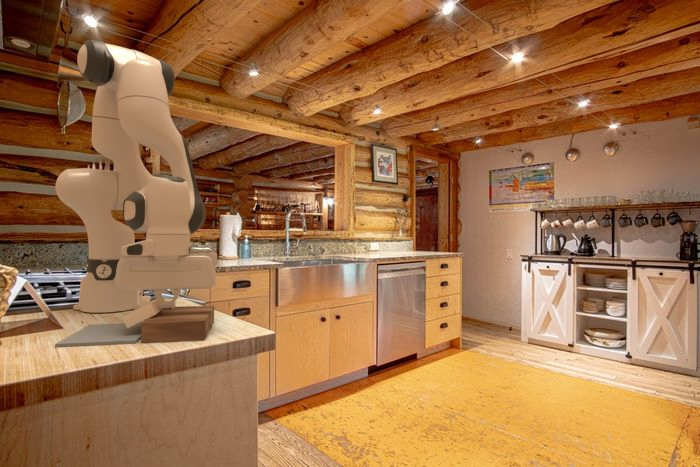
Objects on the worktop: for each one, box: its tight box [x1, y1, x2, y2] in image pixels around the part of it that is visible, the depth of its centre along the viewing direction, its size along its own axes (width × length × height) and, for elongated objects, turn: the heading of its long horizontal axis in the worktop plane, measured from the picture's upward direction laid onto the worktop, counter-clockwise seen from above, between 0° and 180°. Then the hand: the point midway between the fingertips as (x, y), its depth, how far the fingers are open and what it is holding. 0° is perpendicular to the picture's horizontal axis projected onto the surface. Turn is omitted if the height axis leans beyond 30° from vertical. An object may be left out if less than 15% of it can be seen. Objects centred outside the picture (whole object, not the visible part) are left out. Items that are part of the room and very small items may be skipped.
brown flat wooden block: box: [140, 305, 215, 344], centre depth 85 cm, size 16×12×4 cm
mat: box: [54, 322, 142, 348], centre depth 81 cm, size 15×14×1 cm
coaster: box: [121, 298, 161, 328], centre depth 83 cm, size 8×6×2 cm
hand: (167, 309), depth 84 cm, fingers closed
